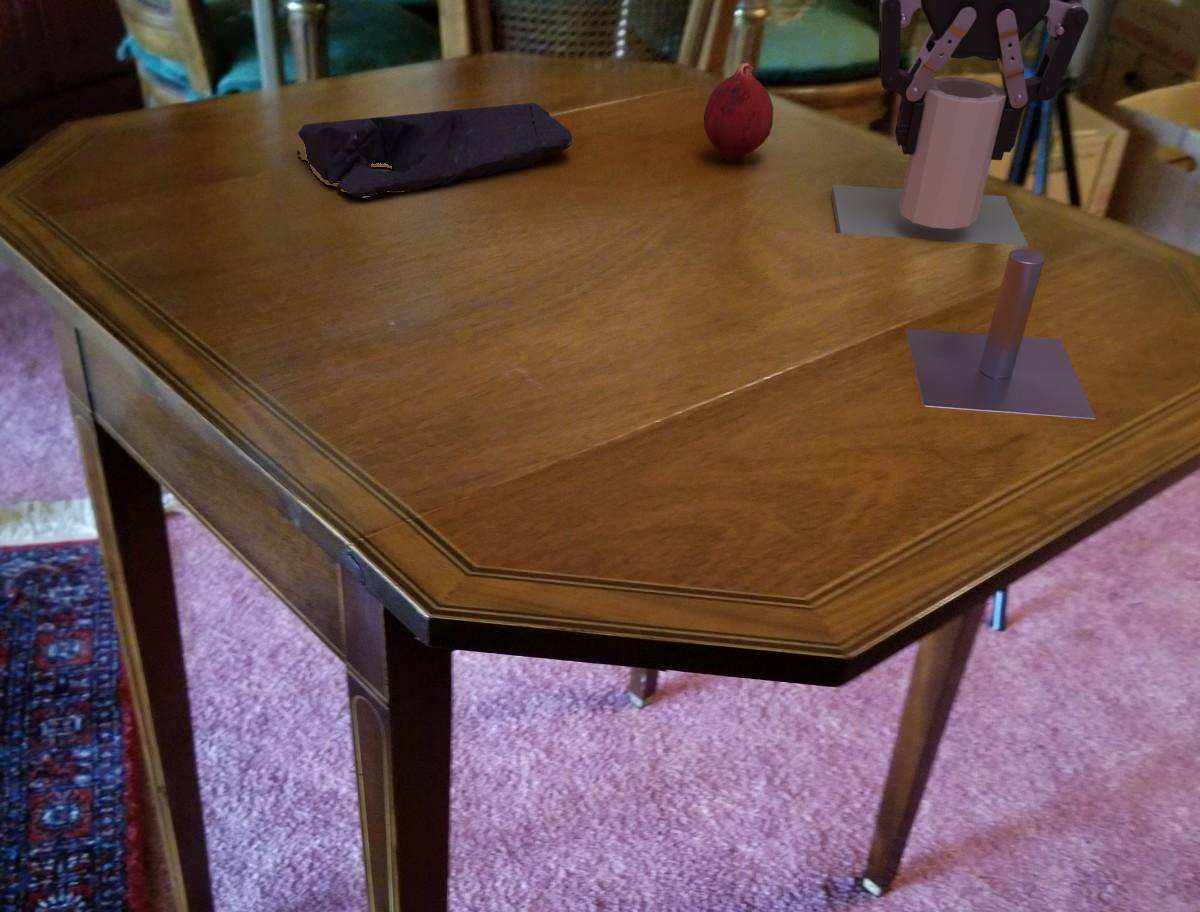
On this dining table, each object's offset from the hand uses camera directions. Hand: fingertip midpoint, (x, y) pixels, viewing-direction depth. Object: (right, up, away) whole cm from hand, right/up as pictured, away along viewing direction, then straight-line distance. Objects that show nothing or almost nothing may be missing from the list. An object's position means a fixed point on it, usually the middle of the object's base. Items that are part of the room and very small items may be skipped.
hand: (950, 153), depth 87 cm
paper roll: (0, -3, +3) cm, 5 cm away
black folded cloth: (-39, +5, +15) cm, 42 cm away
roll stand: (-1, -19, -13) cm, 23 cm away
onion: (-14, +5, +17) cm, 22 cm away
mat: (0, -5, +4) cm, 7 cm away
